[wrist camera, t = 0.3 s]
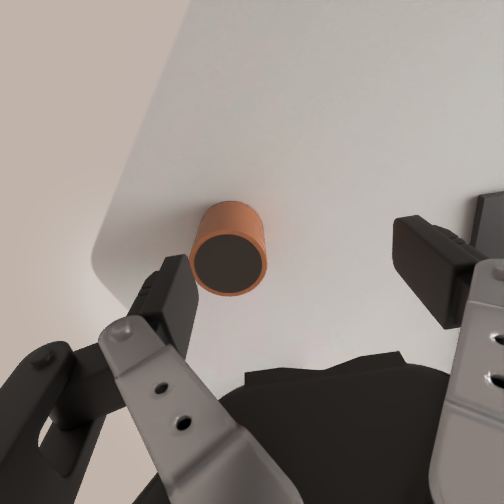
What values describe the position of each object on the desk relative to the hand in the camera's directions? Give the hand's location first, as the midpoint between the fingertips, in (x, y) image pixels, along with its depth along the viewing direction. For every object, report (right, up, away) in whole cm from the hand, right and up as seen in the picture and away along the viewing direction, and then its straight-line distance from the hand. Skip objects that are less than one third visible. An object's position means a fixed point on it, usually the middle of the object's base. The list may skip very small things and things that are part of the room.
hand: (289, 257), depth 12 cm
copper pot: (-3, +2, +18) cm, 19 cm away
